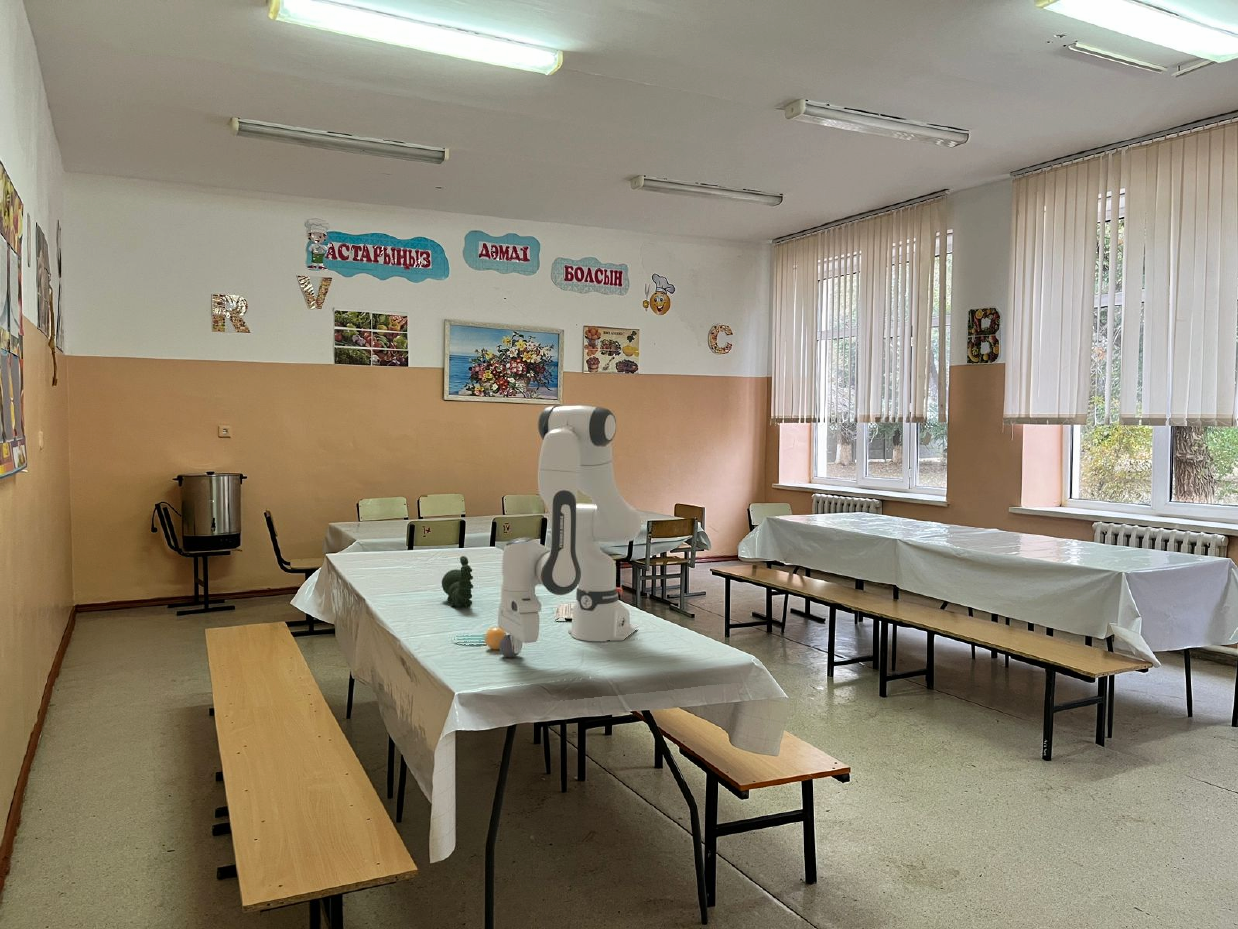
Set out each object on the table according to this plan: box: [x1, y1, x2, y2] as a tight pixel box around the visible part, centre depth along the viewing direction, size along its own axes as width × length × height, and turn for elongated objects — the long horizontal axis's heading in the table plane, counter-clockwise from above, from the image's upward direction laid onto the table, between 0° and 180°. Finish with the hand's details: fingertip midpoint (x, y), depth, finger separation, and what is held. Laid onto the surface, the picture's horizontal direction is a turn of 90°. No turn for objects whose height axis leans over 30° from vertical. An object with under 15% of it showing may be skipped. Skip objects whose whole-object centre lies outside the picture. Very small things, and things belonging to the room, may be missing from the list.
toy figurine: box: [441, 555, 474, 607], centre depth 286 cm, size 9×19×25 cm
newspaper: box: [554, 603, 574, 622], centre depth 273 cm, size 23×12×2 cm, turn 3°
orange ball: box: [485, 626, 507, 650], centre depth 229 cm, size 6×6×6 cm
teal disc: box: [454, 634, 487, 647], centre depth 238 cm, size 14×14×1 cm
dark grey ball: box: [498, 634, 523, 658], centre depth 221 cm, size 6×6×6 cm
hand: (516, 652), depth 218 cm, fingers closed
